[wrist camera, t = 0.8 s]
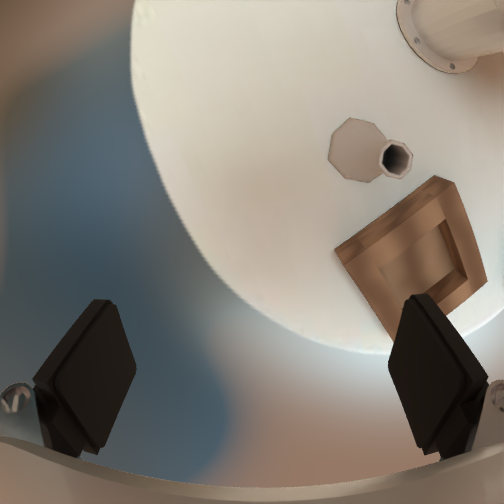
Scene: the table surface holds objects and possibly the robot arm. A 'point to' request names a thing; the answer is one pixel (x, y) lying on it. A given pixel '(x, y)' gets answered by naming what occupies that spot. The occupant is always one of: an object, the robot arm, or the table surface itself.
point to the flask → (367, 152)
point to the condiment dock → (416, 254)
